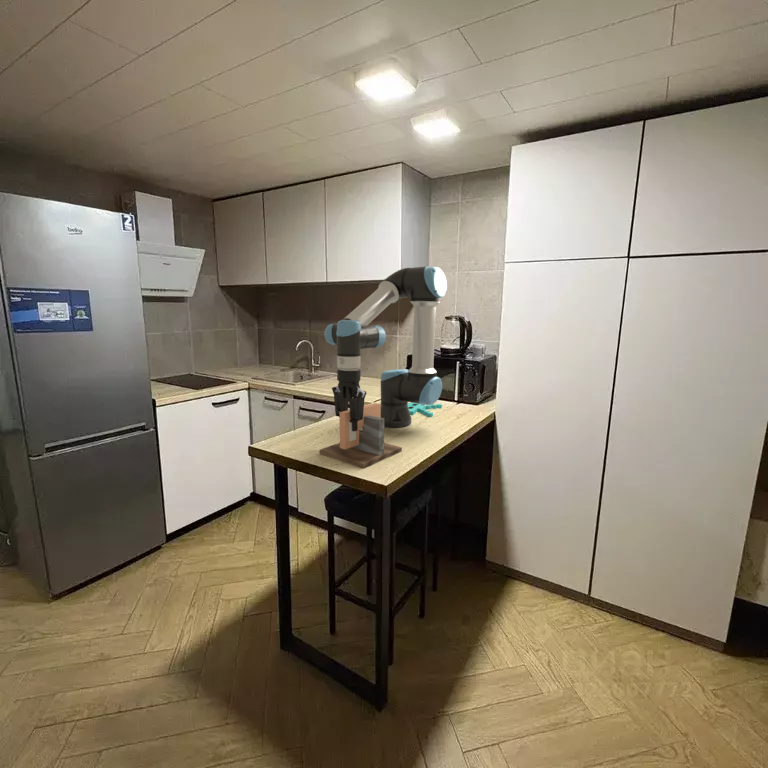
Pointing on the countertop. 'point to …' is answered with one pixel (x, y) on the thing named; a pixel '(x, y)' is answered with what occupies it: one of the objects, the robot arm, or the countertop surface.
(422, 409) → the alien figure
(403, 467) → the countertop surface
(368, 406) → the terracotta plate
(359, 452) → the slotted stand
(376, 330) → the robot arm
